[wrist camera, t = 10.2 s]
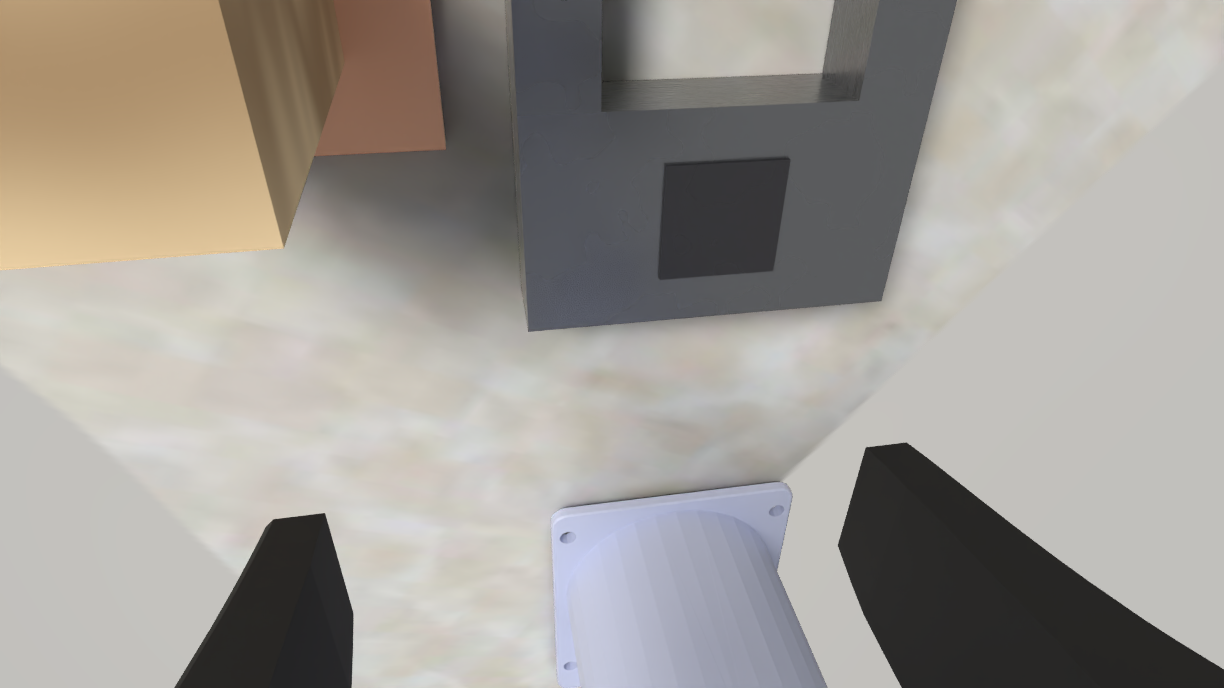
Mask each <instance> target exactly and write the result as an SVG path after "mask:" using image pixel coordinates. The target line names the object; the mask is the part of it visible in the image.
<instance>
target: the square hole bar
mask: <svg viewBox="0 0 1224 688" xmlns="http://www.w3.org/2000/svg"><path fill="white" fill-rule="evenodd" d="M956 2H957V0H835V2H834V8H833V14H832V20H831V26H830V32H829V38H828V44H827V49H826V55H825V61H824V67H823V73H822V74H797V75H770V76H744V77H717V78H690V79H664V80H637V81H611V82H602V0H505V14H506V31H507V49H508V67H509V84H510V102H511V119H512V137H513V155H514V172H515V190H516V207H517V225H518V243H519V260H520V278H521V291H522V297H523V303H524V308H525V314H526V320H527V326H528V332H530V331H542V330H553V329H565V328H576V327H588V326H599V325H611V324H622V323H634V322H645V321H657V320H668V319H680V318H691V317H703V316H714V315H726V314H738V313H749V312H761V311H772V310H784V309H795V308H807V307H818V306H830V305H841V304H853V303H864V302H876V301H881V300H882V296H883V292H884V288H885V284H886V280H887V276H888V272H889V268H890V264H891V260H892V256H893V252H894V248H895V244H896V240H897V237H898V233H899V229H900V225H901V221H902V217H903V213H904V209H905V205H906V201H907V197H908V193H909V189H910V185H911V181H912V177H913V173H914V169H915V165H916V161H917V157H918V153H919V149H920V145H921V141H922V137H923V133H924V129H925V125H926V121H927V117H928V113H929V109H930V105H931V101H932V97H933V93H934V89H935V85H936V81H937V77H938V74H939V70H940V66H941V62H942V58H943V54H944V50H945V46H946V42H947V38H948V34H949V30H950V26H951V22H952V18H953V14H954V10H955V6H956Z"/></svg>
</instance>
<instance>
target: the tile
mask: <svg viewBox="0 0 1224 688" xmlns="http://www.w3.org/2000/svg"><path fill="white" fill-rule="evenodd" d="M333 2H334V7H335V13H336V18H337V24H338V29H339V34H340V40H341V45H342V51H343V56H344V61H345V63H344V66H343V69H342V73H341V76H340V79H339V82H338V85H337V88H336V91H335V94H334V97H333V100H332V103H331V106H330V109H329V112H328V115H327V118H326V121H325V124H324V127H323V130H322V133H321V137H320V140H319V143H318V146H317V149H316V152H315V155H314V156H328V155H348V154H368V153H388V152H408V151H428V150H446V138H445V129H444V120H443V110H442V101H441V92H440V83H439V73H438V64H437V55H436V45H435V36H434V27H433V17H432V8H431V0H333Z"/></svg>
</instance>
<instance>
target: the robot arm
mask: <svg viewBox="0 0 1224 688" xmlns="http://www.w3.org/2000/svg"><path fill="white" fill-rule="evenodd" d="M791 502H792V492H791V490H790V488H789V487H788V486H787V484H786V483H783V482H772V483H764V484H756V485H748V486H740V487H732V488H723V489H715V490H707V491H699V492H691V493H683V494H675V495H666V496H658V497H650V498H642V499H634V500H626V501H618V502H609V503H601V504H593V505H585V506H577V507H569V508H563V509H560V510H558V511H557V512H555V513H554V514H553V515H552V517H551V544H552V569H553V594H554V620H555V645H556V670H557V681H558V684H559V685H560V686H561V687H563V688H575V687H581V688H827V685H826V683H825V681H824V678H823V677H822V674H821V672H820V669H819V667H818V665H817V662H816V660H815V658H814V655H813V653H812V651H811V648H810V646H809V644H808V642H807V639H806V637H805V635H804V633H803V630H802V628H801V626H800V623H799V621H798V619H797V616H796V614H795V612H794V609H793V607H792V605H791V603H790V600H789V598H788V596H787V594H786V591H785V589H784V586H783V584H782V582H781V580H780V577H779V575H778V573H777V568H778V563H779V559H780V554H781V549H782V545H783V540H784V535H785V530H786V526H787V521H788V516H789V511H790V506H791ZM774 506H775V507H774ZM567 532H571V533H568V534H564V533H567ZM838 547H839V550H840V552H841V555H842V558H843V561H844V564H845V566H846V569H847V572H848V575H849V577H850V580H851V583H852V586H853V588H854V591H855V593H856V596H857V599H858V601H859V604H860V606H861V609H862V611H863V614H864V616H865V618H866V620H867V621H868V624H869V626H870V627H871V630H872V632H873V633H874V635H875V637H876V639H877V641H878V643H879V645H880V647H881V649H882V651H883V653H884V654H885V657H886V658H887V660H888V662H889V664H890V666H891V668H892V670H893V672H894V674H895V676H896V678H897V679H898V681H899V683H900V685H901V687H902V688H1224V669H1222V668H1220V667H1219V666H1217V665H1216V664H1214V663H1212V662H1210V661H1209V660H1207V659H1206V658H1204V657H1202V656H1201V655H1199V654H1197V653H1196V652H1194V651H1193V650H1191V649H1189V648H1188V647H1186V646H1185V645H1183V644H1181V643H1180V642H1178V641H1176V640H1175V639H1173V638H1172V637H1170V636H1169V635H1167V634H1165V633H1164V632H1162V631H1161V630H1159V629H1157V628H1156V627H1155V626H1153V625H1152V624H1150V623H1148V622H1147V621H1145V620H1144V619H1142V618H1141V617H1139V616H1138V615H1137V614H1135V613H1133V612H1132V611H1131V610H1129V609H1128V608H1126V607H1125V606H1123V605H1122V604H1121V603H1119V602H1118V601H1116V600H1115V599H1113V598H1112V597H1110V596H1109V595H1107V594H1106V593H1105V592H1103V591H1102V590H1100V589H1099V588H1097V587H1096V586H1094V585H1093V584H1091V583H1090V582H1089V581H1087V580H1086V579H1084V578H1083V577H1082V576H1080V575H1079V574H1078V573H1076V572H1075V571H1074V570H1072V569H1071V568H1069V567H1068V566H1067V565H1065V564H1064V563H1062V562H1061V561H1060V560H1058V559H1057V558H1056V557H1054V556H1053V555H1052V554H1050V553H1049V552H1048V551H1046V550H1045V549H1044V548H1042V547H1041V546H1040V545H1038V544H1037V543H1036V542H1034V541H1033V540H1032V539H1030V538H1029V537H1028V536H1026V535H1025V534H1024V533H1022V532H1021V531H1020V530H1019V529H1017V528H1016V527H1015V526H1013V525H1012V524H1011V523H1010V522H1008V521H1007V520H1005V519H1004V518H1003V517H1002V516H1000V515H999V514H998V513H997V512H995V511H994V510H993V509H992V508H990V507H989V506H988V505H986V504H985V503H984V502H982V501H981V500H980V499H979V498H977V497H976V496H975V495H974V494H972V493H971V492H970V491H969V490H967V489H966V488H965V487H964V486H962V485H961V484H960V483H958V482H957V481H956V480H955V479H953V478H952V477H951V476H949V475H948V474H947V473H946V472H945V471H943V470H942V469H941V468H939V467H938V466H937V465H936V464H934V463H933V462H932V461H930V460H929V459H928V458H927V457H925V456H924V455H923V454H921V453H920V452H919V451H917V450H916V449H915V448H913V447H912V446H911V445H909V444H908V443H899V444H891V445H884V446H875V447H867V448H866V449H865V453H864V456H863V459H862V463H861V466H860V470H859V473H858V477H857V480H856V484H855V488H854V491H853V495H852V498H851V501H850V505H849V508H848V512H847V515H846V519H845V522H844V526H843V529H842V533H841V537H840V540H839V544H838ZM352 658H353V611H352V607H351V604H350V600H349V597H348V593H347V589H346V586H345V582H344V579H343V575H342V572H341V568H340V565H339V561H338V558H337V554H336V551H335V547H334V544H333V540H332V537H331V533H330V529H329V526H328V522H327V519H326V515H325V513H322V514H314V515H306V516H298V517H289V518H281V519H273V520H272V521H271V522H270V523H269V524H268V525H267V526H266V528H265V530H264V532H263V534H262V536H261V538H260V540H259V542H258V544H257V546H256V547H255V549H254V551H253V553H252V555H251V557H250V559H249V561H248V563H247V565H246V566H245V568H244V570H243V572H242V574H241V576H240V578H239V579H238V581H237V583H236V585H235V587H234V588H233V590H232V592H231V594H230V596H229V597H228V599H227V601H226V603H225V604H224V606H223V608H222V610H221V611H220V613H219V615H218V617H217V619H216V620H215V622H214V624H213V625H212V627H211V629H210V631H209V632H208V634H207V635H206V637H205V639H204V640H203V642H202V643H201V645H200V647H199V648H198V650H197V652H196V653H195V655H194V657H193V658H192V660H191V661H190V663H189V665H188V666H187V668H186V670H185V671H184V673H183V675H182V676H181V678H180V679H179V681H178V683H177V684H176V686H175V688H351V685H352Z"/></svg>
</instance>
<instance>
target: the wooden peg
mask: <svg viewBox="0 0 1224 688" xmlns="http://www.w3.org/2000/svg"><path fill="white" fill-rule="evenodd" d="M344 63H345V61H344V56H343V51H342V45H341V40H340V34H339V29H338V24H337V18H336V13H335V7H334V2H333V0H0V270H11V269H24V268H37V267H50V266H63V265H76V264H89V263H102V262H115V261H128V260H141V259H153V258H166V257H179V256H192V255H205V254H218V253H231V252H244V251H257V250H270V249H283V248H284V246H285V243H286V240H287V237H288V234H289V231H290V228H291V225H292V222H293V219H294V216H295V213H296V210H297V207H298V204H299V201H300V198H301V194H302V191H303V188H304V185H305V182H306V179H307V176H308V173H309V170H310V167H311V164H312V161H313V158H314V155H315V152H316V149H317V146H318V143H319V140H320V137H321V133H322V130H323V127H324V124H325V121H326V118H327V115H328V112H329V109H330V106H331V103H332V100H333V97H334V94H335V91H336V88H337V85H338V82H339V79H340V76H341V73H342V69H343V66H344Z"/></svg>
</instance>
